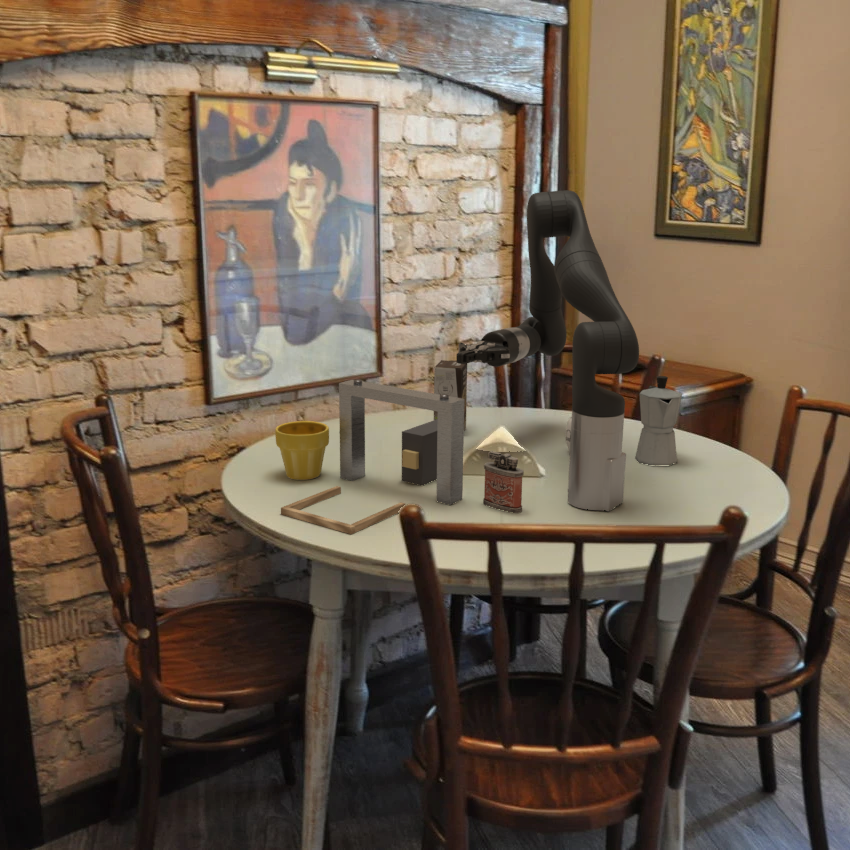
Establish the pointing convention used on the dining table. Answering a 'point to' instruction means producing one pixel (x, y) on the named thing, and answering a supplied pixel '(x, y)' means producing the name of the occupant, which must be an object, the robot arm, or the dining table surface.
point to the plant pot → (302, 448)
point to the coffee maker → (658, 424)
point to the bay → (295, 512)
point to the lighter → (503, 483)
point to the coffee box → (451, 382)
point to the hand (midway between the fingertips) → (460, 358)
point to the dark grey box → (420, 453)
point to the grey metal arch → (446, 406)
